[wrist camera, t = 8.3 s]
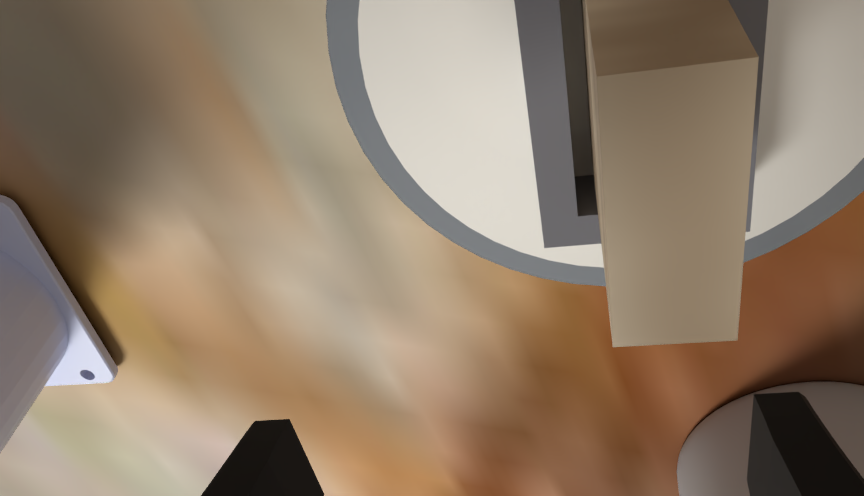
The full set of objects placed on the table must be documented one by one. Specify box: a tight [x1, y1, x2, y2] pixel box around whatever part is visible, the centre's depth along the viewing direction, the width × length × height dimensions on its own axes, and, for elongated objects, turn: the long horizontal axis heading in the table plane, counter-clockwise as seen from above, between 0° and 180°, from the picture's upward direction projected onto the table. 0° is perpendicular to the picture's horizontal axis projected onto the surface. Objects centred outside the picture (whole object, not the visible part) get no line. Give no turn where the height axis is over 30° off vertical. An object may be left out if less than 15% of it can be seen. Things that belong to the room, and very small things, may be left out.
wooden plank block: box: [581, 0, 759, 347], centre depth 14 cm, size 2×5×6 cm, turn 11°
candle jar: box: [326, 0, 864, 286], centre depth 16 cm, size 13×13×4 cm
